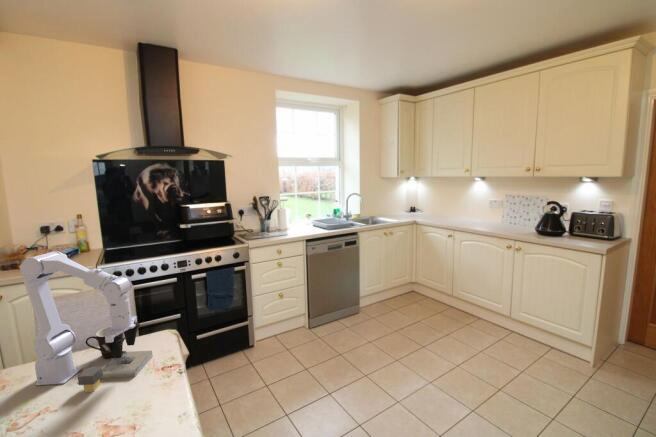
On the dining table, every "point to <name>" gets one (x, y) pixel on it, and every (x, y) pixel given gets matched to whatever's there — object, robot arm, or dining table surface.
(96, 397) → the dining table surface
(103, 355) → the coffee mug
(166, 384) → the dining table surface
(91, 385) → the plug
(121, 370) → the socket
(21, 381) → the dining table surface
